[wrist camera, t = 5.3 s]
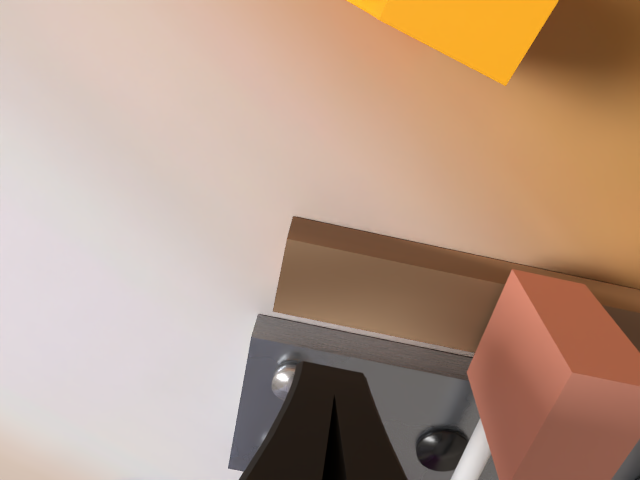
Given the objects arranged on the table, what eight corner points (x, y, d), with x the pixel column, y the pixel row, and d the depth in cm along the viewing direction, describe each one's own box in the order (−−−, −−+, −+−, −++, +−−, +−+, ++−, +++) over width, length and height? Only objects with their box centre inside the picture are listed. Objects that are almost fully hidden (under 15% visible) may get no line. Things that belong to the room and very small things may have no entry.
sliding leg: (467, 507, 17) (497, 641, 14) (411, 496, 17) (427, 628, 14) (584, 284, 13) (672, 393, 10) (512, 268, 13) (571, 372, 10)
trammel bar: (636, 500, 19) (734, 676, 14) (251, 425, 19) (214, 581, 14) (785, 302, 15) (998, 453, 10) (296, 197, 14) (267, 303, 9)
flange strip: (636, 519, 20) (659, 563, 18) (235, 441, 19) (224, 480, 17) (721, 408, 17) (757, 449, 15) (257, 314, 16) (248, 347, 15)
